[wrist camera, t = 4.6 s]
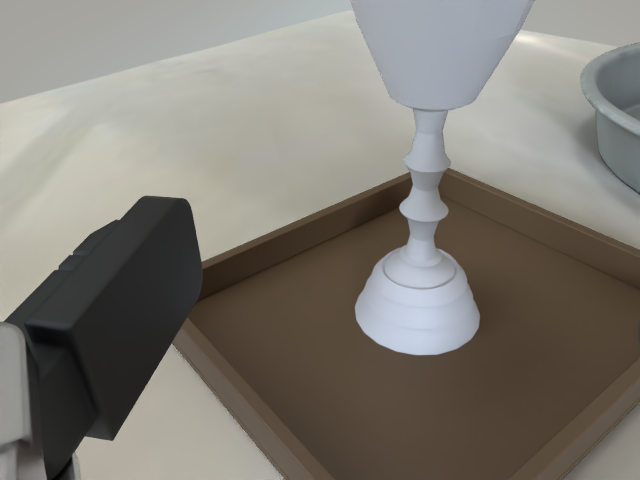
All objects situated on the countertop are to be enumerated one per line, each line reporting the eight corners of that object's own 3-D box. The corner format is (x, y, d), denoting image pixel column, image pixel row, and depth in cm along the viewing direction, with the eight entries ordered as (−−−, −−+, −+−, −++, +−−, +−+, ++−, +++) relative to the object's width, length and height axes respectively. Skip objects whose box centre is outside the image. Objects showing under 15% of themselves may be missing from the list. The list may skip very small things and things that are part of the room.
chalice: (545, 334, 22) (699, -301, 12) (399, 404, 19) (438, -327, 9) (428, 243, 27) (467, -244, 17) (302, 289, 25) (263, -252, 15)
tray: (431, 189, 32) (433, 161, 31) (716, 325, 22) (732, 289, 21) (153, 319, 24) (144, 286, 23) (410, 631, 14) (414, 595, 13)
